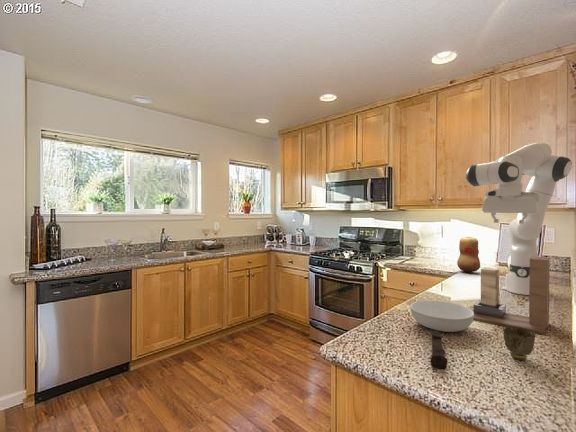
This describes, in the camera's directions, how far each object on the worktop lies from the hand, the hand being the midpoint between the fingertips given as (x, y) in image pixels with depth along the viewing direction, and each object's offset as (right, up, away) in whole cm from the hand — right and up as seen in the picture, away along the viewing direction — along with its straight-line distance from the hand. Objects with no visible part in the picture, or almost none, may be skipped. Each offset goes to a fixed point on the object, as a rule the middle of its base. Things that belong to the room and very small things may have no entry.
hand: (508, 223), depth 135 cm
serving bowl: (-43, -38, -25) cm, 62 cm away
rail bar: (-17, -36, -13) cm, 42 cm away
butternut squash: (+28, -37, +77) cm, 89 cm away
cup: (-33, -38, -49) cm, 70 cm away
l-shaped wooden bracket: (-15, -37, -18) cm, 44 cm away
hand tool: (-55, -38, -46) cm, 81 cm away
